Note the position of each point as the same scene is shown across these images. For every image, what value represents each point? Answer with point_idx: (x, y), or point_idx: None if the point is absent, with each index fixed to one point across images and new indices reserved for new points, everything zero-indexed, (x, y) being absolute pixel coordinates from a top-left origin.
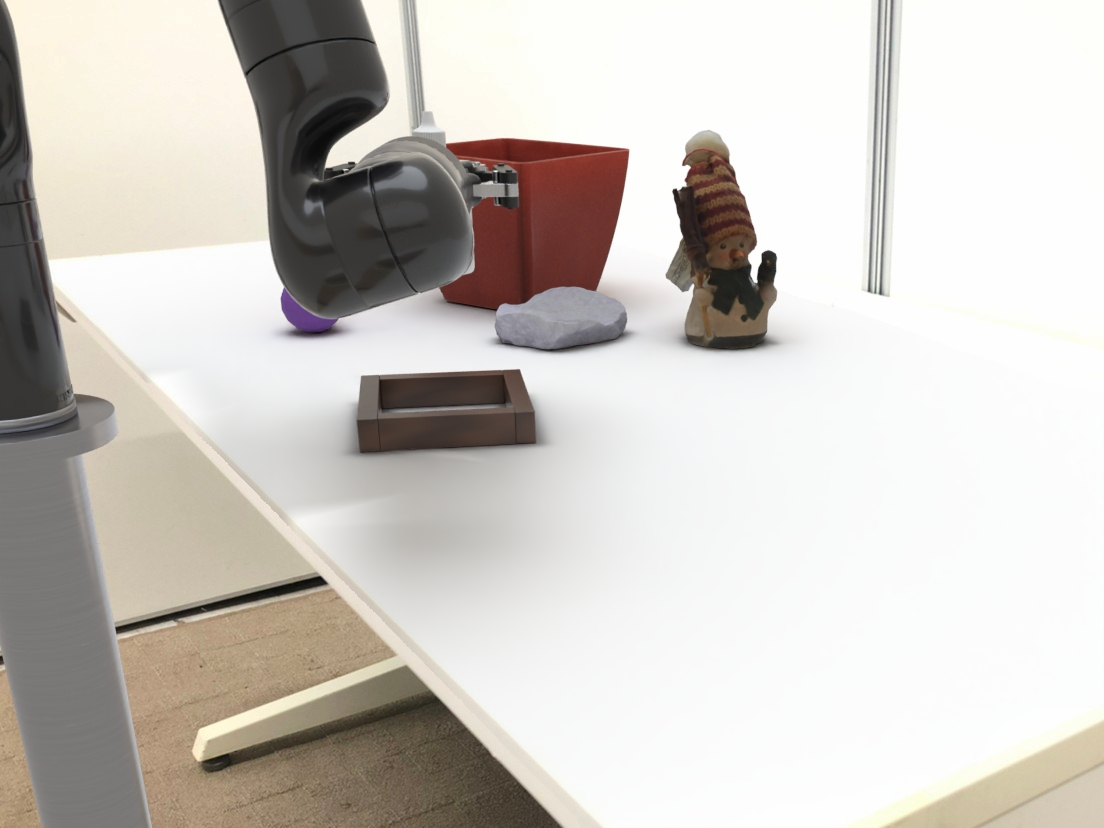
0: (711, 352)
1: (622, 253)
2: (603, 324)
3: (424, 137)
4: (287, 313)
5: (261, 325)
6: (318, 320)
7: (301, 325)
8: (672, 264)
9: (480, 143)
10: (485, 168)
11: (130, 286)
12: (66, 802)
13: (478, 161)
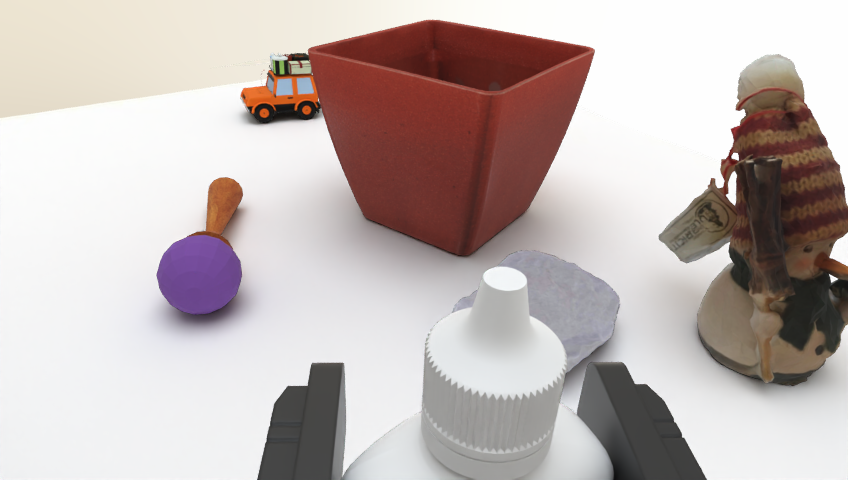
0: (765, 397)
1: None
2: (604, 341)
3: (490, 411)
4: (165, 297)
5: (142, 283)
6: (207, 308)
7: (185, 311)
8: (673, 226)
9: (407, 29)
10: (673, 431)
11: (32, 173)
12: None
13: (628, 375)
